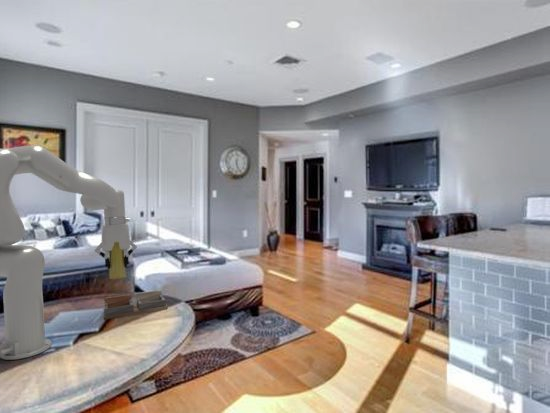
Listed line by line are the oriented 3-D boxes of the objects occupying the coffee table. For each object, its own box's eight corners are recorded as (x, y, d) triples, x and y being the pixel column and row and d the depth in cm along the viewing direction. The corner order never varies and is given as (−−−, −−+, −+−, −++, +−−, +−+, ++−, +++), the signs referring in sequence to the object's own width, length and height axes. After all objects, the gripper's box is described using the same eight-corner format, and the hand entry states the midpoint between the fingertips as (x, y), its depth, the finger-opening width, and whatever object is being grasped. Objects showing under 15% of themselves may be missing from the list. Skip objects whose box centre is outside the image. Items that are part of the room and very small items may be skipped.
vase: (114, 275, 142) (113, 240, 141) (129, 275, 141) (127, 240, 141) (106, 279, 136) (104, 242, 135) (121, 279, 135) (119, 242, 135)
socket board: (167, 309, 141) (166, 295, 141) (103, 319, 131) (103, 305, 131) (162, 301, 152) (162, 289, 152) (103, 311, 141) (102, 297, 141)
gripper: (137, 219, 145) (139, 263, 145) (90, 222, 137) (92, 268, 138) (139, 220, 138) (141, 266, 139) (90, 223, 130) (92, 272, 131)
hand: (117, 267), depth 138 cm, fingers closed on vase, 5 cm apart
